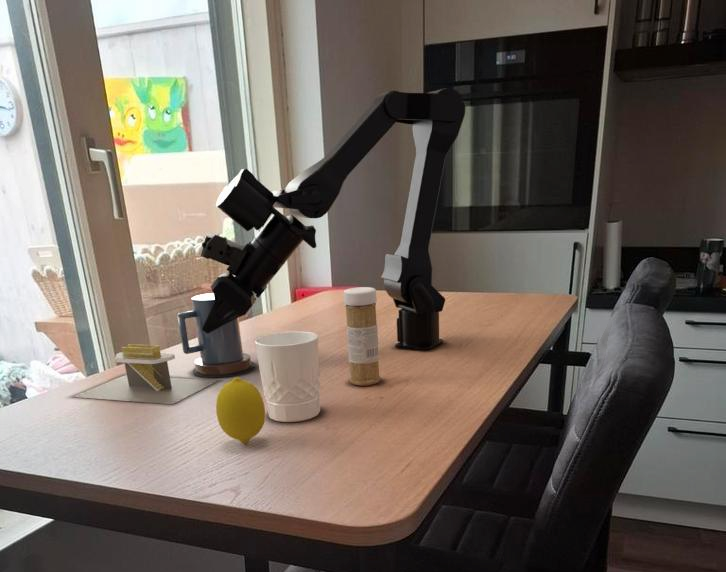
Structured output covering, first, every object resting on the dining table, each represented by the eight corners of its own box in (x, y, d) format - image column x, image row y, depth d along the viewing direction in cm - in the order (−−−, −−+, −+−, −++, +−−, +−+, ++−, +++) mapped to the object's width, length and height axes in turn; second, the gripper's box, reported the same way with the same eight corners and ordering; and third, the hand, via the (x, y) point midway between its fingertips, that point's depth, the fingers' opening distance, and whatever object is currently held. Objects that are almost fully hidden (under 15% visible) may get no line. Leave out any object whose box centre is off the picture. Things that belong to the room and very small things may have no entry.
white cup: (315, 424, 87) (308, 345, 83) (255, 423, 89) (245, 345, 85) (330, 404, 94) (324, 330, 90) (275, 404, 96) (266, 331, 92)
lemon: (223, 437, 85) (214, 372, 82) (269, 433, 85) (261, 369, 82) (219, 453, 80) (208, 386, 77) (267, 449, 80) (259, 382, 77)
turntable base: (267, 364, 116) (266, 362, 116) (226, 380, 108) (226, 378, 108) (222, 359, 121) (221, 357, 121) (180, 374, 113) (179, 372, 113)
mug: (236, 357, 120) (227, 289, 115) (260, 367, 113) (252, 295, 109) (176, 370, 115) (164, 299, 110) (198, 381, 108) (186, 305, 103)
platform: (172, 404, 98) (164, 358, 96) (72, 396, 105) (62, 353, 102) (218, 380, 109) (212, 338, 106) (124, 375, 115) (116, 335, 112)
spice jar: (371, 376, 106) (367, 285, 100) (385, 383, 102) (381, 288, 97) (344, 381, 104) (338, 289, 99) (357, 388, 100) (351, 292, 95)
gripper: (238, 209, 113) (181, 283, 118) (216, 216, 96) (151, 302, 101) (291, 257, 116) (234, 327, 121) (279, 272, 99) (213, 353, 104)
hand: (209, 326), depth 112 cm, fingers closed on mug, 7 cm apart
